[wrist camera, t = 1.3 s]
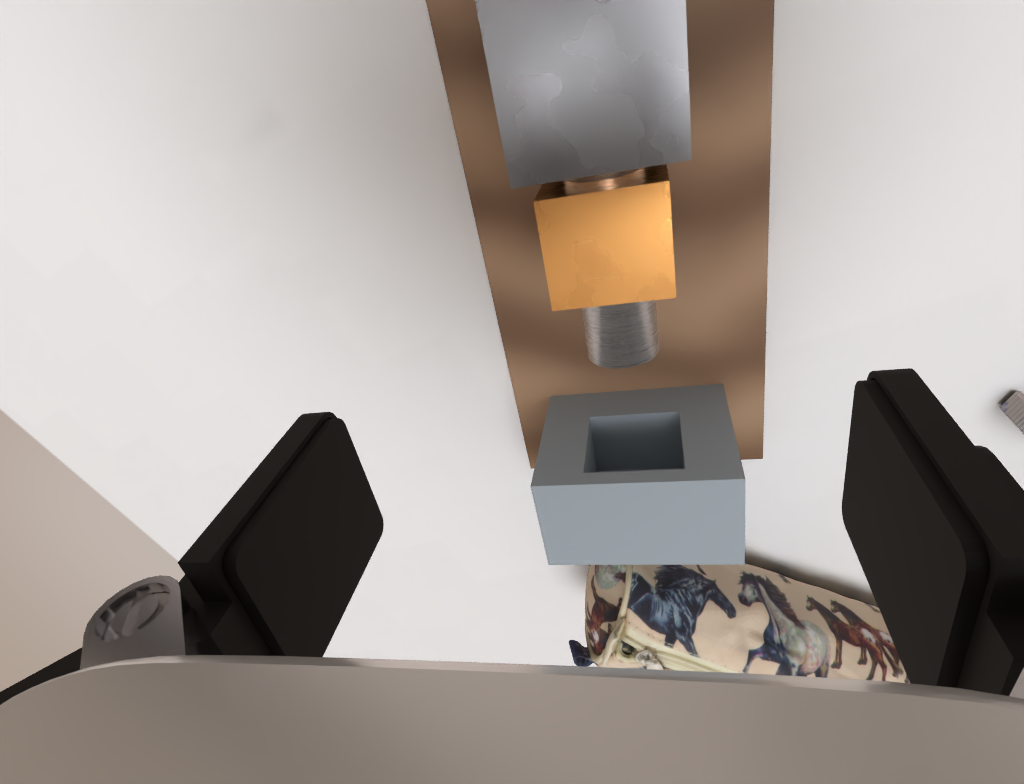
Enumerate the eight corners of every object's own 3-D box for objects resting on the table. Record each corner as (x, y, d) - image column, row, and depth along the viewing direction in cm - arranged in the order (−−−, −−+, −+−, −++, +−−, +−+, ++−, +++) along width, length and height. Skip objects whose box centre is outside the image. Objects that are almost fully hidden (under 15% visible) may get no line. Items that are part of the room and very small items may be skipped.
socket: (550, 396, 33) (530, 486, 27) (723, 383, 31) (745, 479, 24) (563, 467, 35) (548, 564, 29) (724, 460, 33) (744, 564, 27)
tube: (501, -185, 19) (455, -252, 14) (639, -229, 18) (640, -318, 13) (578, 325, 29) (566, 392, 24) (672, 315, 28) (681, 383, 23)
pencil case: (571, 569, 42) (556, 702, 34) (617, 487, 38) (613, 618, 29) (859, 669, 43) (911, 824, 35) (940, 599, 38) (1024, 760, 30)
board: (394, -192, 22) (380, -204, 21) (772, -321, 19) (782, -344, 18) (534, 453, 37) (530, 468, 36) (757, 442, 34) (762, 458, 33)
